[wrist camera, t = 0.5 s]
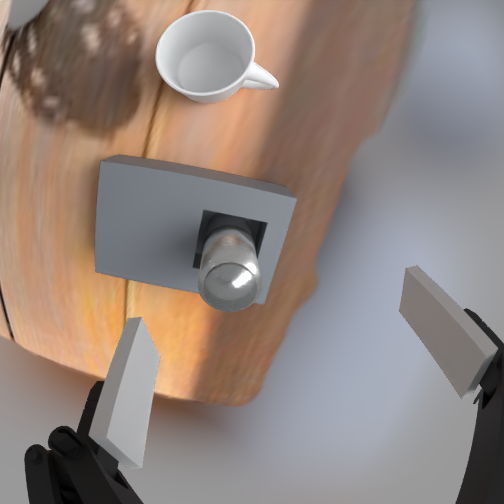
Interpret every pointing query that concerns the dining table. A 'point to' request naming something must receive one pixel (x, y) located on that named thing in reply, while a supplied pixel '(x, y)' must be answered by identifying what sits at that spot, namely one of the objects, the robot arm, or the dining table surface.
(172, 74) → the mug
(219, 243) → the silver can
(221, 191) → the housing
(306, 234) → the dining table surface
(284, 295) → the dining table surface
